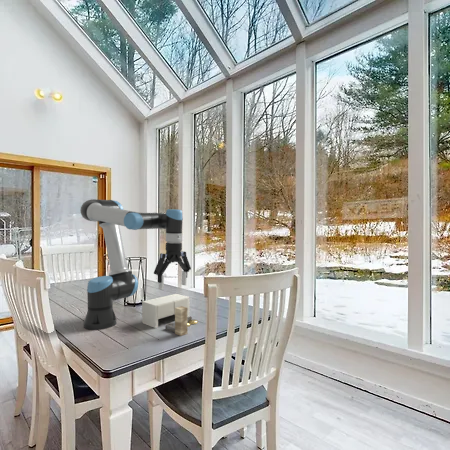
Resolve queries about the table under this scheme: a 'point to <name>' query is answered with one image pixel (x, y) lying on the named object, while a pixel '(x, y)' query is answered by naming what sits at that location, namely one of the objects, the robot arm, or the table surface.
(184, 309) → the hook
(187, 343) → the table surface
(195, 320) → the gold domed disc
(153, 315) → the cabinet
